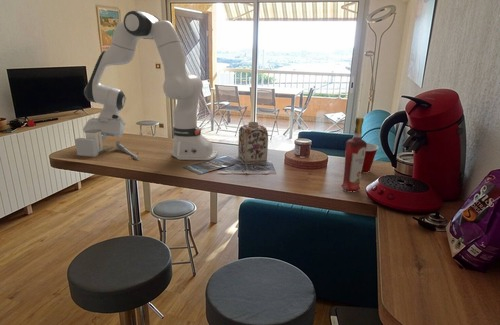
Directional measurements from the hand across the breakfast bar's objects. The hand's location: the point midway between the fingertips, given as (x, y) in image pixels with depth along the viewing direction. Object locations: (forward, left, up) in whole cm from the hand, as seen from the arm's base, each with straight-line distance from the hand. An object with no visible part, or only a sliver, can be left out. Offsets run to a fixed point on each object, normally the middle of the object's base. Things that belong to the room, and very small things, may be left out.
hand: (98, 142), depth 163 cm
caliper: (-16, +2, -6) cm, 17 cm away
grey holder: (0, +2, -5) cm, 6 cm away
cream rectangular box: (0, +3, -4) cm, 5 cm away
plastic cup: (-128, -3, -6) cm, 128 cm away
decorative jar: (-76, -10, -6) cm, 77 cm away
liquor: (-120, +22, -6) cm, 122 cm away
